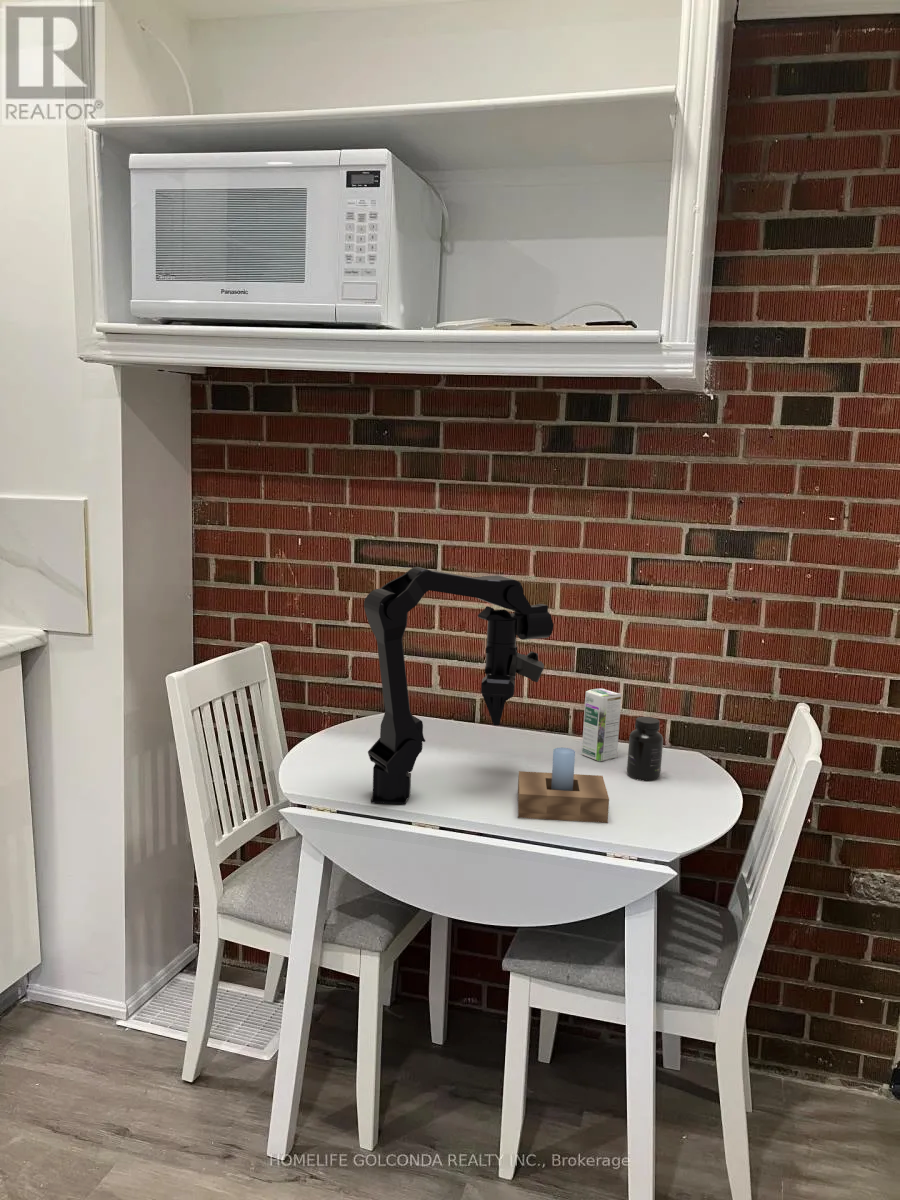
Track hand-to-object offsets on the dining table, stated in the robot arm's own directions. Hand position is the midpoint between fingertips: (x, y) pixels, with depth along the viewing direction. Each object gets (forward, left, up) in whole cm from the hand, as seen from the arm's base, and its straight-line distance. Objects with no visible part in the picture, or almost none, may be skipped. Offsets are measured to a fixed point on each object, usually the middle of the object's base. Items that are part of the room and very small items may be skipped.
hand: (497, 718), depth 187 cm
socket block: (+13, -12, -13) cm, 22 cm away
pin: (+13, -12, -12) cm, 21 cm away
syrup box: (+23, +19, -13) cm, 32 cm away
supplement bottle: (+31, +8, -13) cm, 34 cm away
